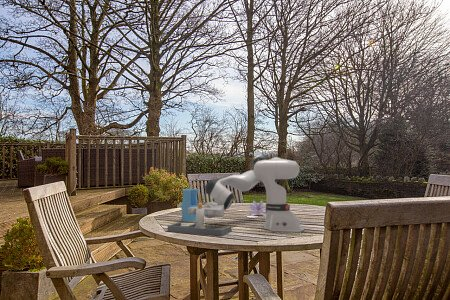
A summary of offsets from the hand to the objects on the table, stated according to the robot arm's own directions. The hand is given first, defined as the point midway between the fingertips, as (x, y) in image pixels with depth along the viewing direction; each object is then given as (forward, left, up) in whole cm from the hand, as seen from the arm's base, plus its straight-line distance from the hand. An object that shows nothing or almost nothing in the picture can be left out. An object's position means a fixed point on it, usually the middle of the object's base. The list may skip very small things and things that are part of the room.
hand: (199, 212), depth 193 cm
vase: (+22, -29, -10) cm, 38 cm away
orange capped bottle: (0, 0, -9) cm, 9 cm away
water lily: (-10, -71, -10) cm, 72 cm away
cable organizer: (0, 0, -10) cm, 10 cm away
